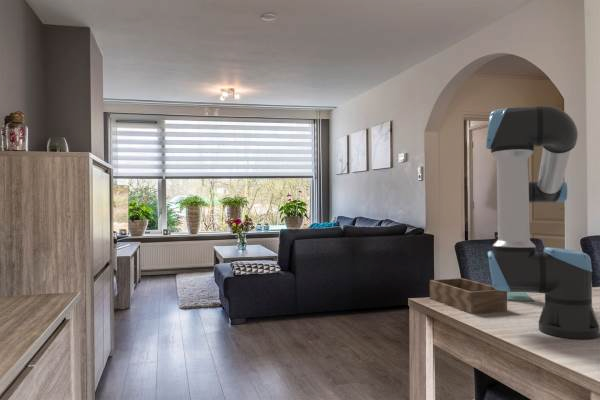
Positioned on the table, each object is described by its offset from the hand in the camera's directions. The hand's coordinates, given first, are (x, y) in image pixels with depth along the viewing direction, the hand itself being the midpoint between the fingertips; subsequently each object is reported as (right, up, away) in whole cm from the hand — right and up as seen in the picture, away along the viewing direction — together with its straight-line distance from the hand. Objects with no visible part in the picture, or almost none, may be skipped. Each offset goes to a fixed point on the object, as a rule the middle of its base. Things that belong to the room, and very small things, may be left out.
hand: (509, 277), depth 184 cm
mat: (0, -8, 0) cm, 8 cm away
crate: (-20, -8, -11) cm, 25 cm away
